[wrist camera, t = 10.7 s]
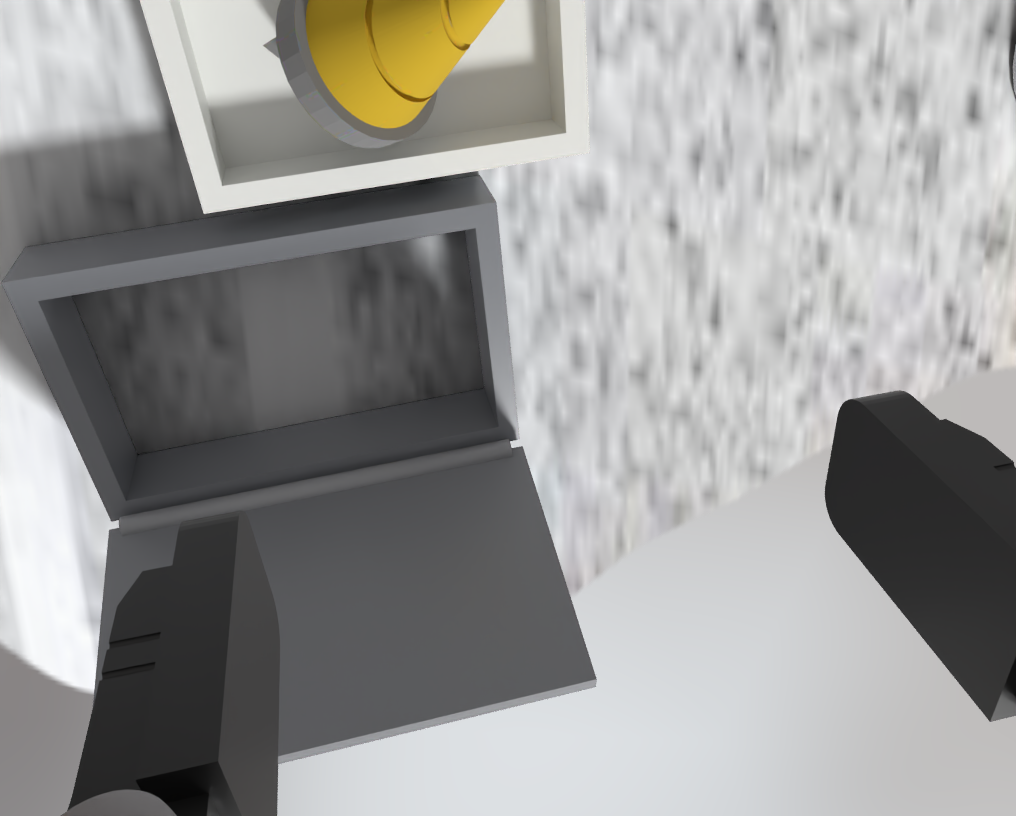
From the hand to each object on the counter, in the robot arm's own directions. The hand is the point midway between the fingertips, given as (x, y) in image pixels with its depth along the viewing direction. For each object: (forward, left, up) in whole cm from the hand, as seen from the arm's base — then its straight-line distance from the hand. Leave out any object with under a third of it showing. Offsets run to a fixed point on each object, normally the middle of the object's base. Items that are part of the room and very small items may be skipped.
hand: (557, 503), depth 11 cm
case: (+5, +8, -22) cm, 24 cm away
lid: (+5, +14, -14) cm, 20 cm away
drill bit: (0, -3, -22) cm, 22 cm away
